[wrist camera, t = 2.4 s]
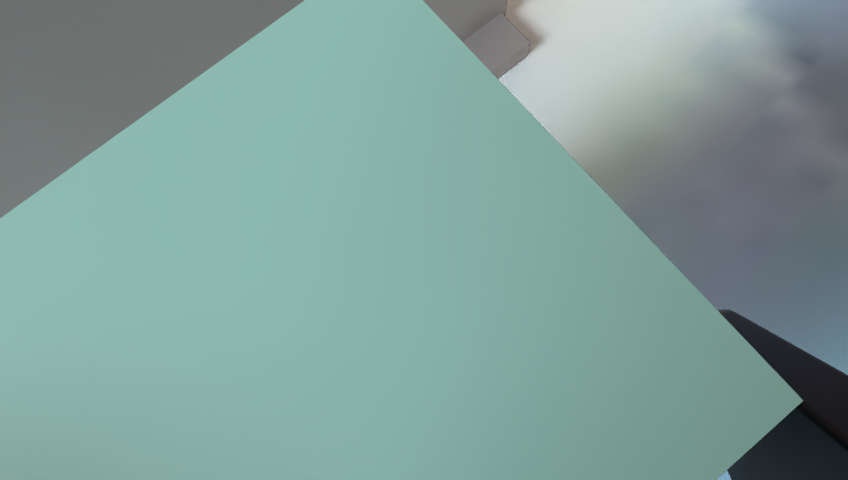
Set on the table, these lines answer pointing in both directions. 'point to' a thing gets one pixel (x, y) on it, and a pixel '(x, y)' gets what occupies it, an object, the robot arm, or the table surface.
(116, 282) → the teal block
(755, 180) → the table surface
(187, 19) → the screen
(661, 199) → the table surface
